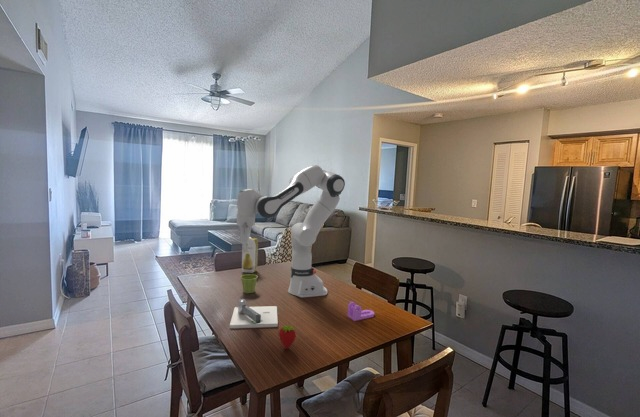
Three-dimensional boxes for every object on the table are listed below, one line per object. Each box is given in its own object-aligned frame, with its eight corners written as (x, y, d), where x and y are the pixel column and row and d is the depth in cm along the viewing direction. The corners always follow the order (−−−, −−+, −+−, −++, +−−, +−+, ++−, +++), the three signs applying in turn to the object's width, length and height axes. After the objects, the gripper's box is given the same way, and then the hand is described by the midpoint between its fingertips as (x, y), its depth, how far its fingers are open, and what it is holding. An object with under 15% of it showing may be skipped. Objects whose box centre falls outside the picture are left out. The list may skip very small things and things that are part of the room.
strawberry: (288, 341, 118) (289, 317, 117) (298, 350, 112) (299, 325, 111) (275, 345, 114) (275, 320, 113) (284, 355, 108) (285, 329, 107)
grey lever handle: (236, 312, 137) (236, 300, 137) (243, 310, 140) (244, 298, 139) (255, 326, 124) (255, 313, 124) (263, 324, 127) (263, 311, 126)
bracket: (354, 321, 138) (355, 306, 137) (347, 316, 143) (348, 302, 142) (376, 316, 144) (377, 302, 144) (369, 311, 149) (370, 298, 149)
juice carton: (240, 272, 201) (241, 237, 199) (245, 269, 209) (246, 235, 207) (253, 273, 200) (254, 238, 198) (258, 270, 207) (259, 236, 205)
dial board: (276, 309, 147) (276, 305, 147) (277, 326, 129) (277, 323, 129) (234, 310, 143) (234, 306, 143) (229, 328, 126) (229, 324, 126)
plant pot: (236, 292, 165) (237, 277, 165) (246, 287, 174) (247, 273, 173) (250, 296, 162) (251, 280, 161) (260, 290, 171) (261, 275, 170)
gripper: (251, 224, 139) (250, 253, 141) (253, 218, 159) (252, 244, 161) (237, 224, 138) (236, 253, 139) (240, 218, 158) (240, 244, 160)
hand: (245, 248), depth 150 cm, fingers open, 8 cm apart
